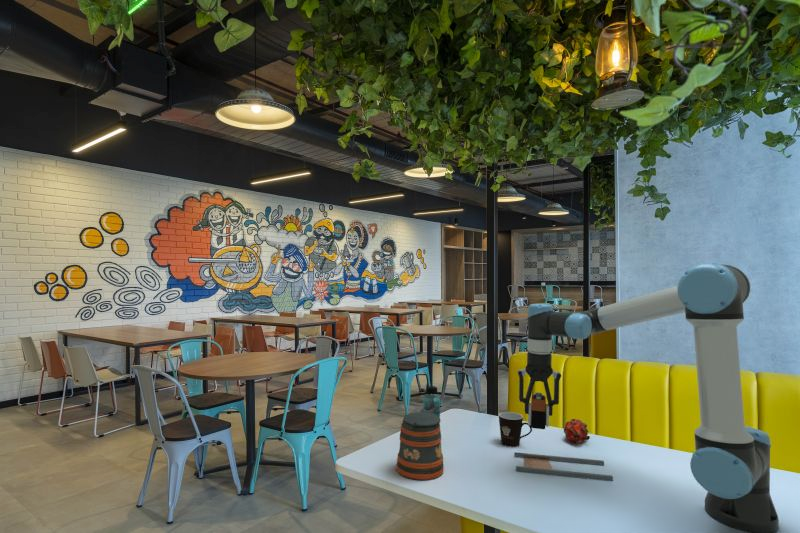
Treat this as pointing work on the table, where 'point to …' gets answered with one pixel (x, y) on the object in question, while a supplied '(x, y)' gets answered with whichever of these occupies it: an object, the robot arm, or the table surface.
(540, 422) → the battery
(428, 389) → the beverage bottle
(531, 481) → the table surface
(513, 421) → the coffee mug
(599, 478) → the rail
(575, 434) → the dragon fruit
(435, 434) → the beer stein
